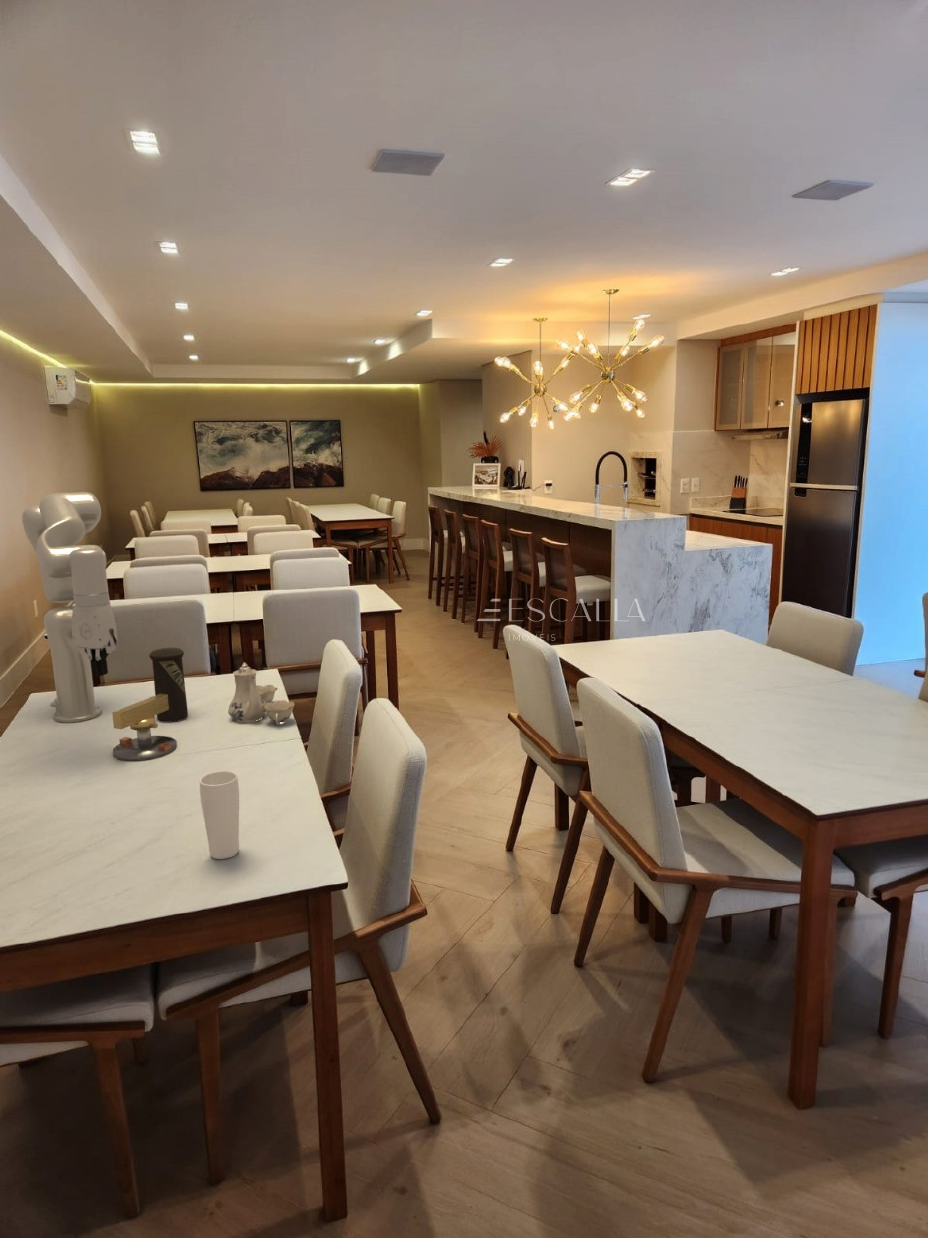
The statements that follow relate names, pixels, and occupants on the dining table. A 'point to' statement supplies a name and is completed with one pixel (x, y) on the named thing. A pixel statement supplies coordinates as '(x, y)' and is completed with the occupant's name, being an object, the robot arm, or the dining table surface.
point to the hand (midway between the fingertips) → (100, 674)
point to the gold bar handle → (141, 713)
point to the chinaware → (256, 699)
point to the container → (170, 682)
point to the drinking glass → (221, 812)
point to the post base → (143, 753)
